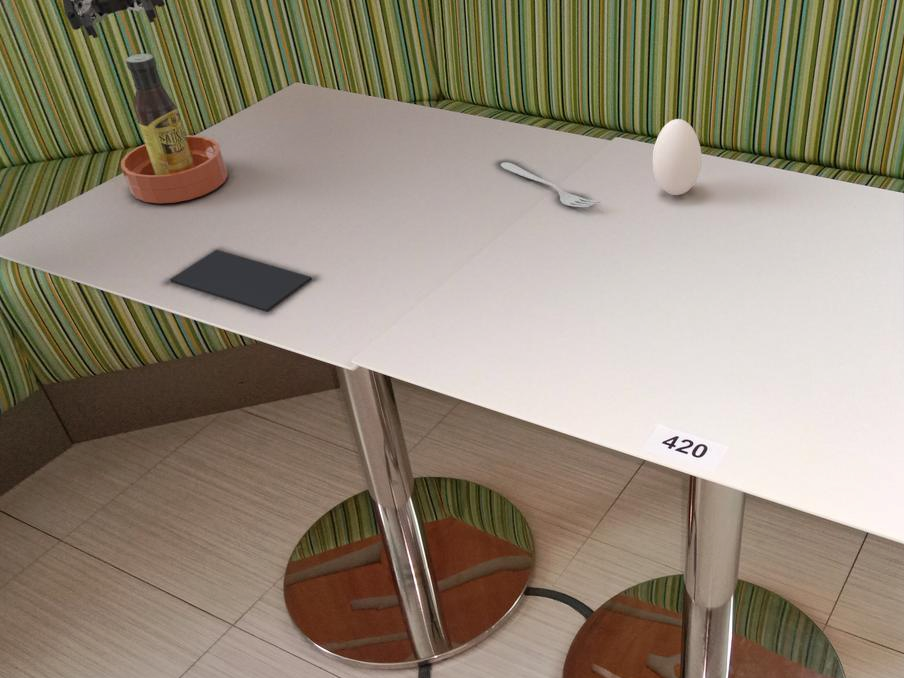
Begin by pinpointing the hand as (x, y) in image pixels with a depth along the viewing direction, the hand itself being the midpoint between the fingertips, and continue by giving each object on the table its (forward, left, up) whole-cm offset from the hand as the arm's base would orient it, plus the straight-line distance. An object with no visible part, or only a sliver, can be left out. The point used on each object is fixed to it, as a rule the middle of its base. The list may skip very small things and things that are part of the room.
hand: (121, 24), depth 147 cm
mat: (+8, -41, -24) cm, 48 cm away
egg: (+74, -42, -24) cm, 88 cm away
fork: (+56, -32, -24) cm, 69 cm away
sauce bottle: (+1, -6, -24) cm, 24 cm away
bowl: (+1, -6, -24) cm, 25 cm away
